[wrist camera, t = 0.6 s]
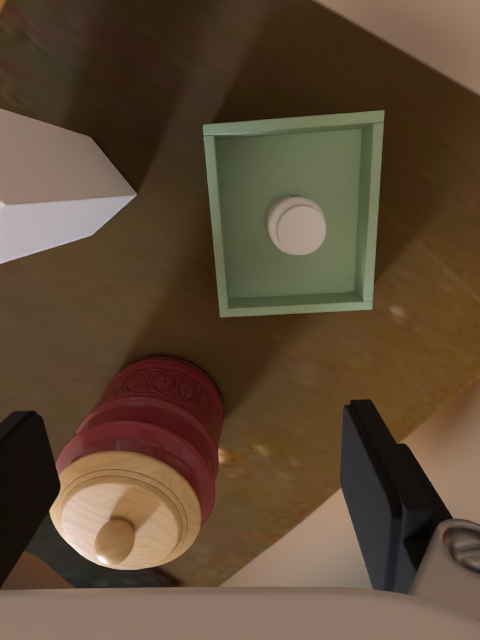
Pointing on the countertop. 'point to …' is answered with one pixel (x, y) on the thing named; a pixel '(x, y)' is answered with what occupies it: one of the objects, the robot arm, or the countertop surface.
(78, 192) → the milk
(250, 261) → the tray
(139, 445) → the kitchen canister
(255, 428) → the countertop surface
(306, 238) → the pill bottle
